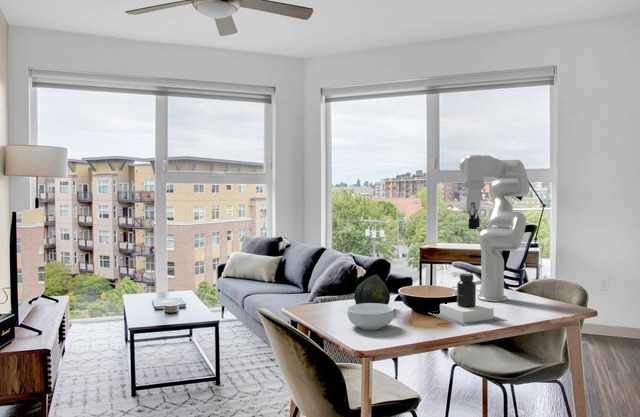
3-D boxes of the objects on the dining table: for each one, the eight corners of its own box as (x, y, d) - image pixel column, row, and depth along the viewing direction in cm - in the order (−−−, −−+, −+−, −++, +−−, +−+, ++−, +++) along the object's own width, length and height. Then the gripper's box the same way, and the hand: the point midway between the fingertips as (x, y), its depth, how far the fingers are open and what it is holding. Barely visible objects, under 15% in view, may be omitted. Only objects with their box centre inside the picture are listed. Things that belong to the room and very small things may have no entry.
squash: (349, 301, 201) (374, 272, 202) (346, 294, 216) (369, 267, 217) (376, 324, 202) (401, 295, 202) (371, 316, 217) (394, 289, 217)
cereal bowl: (365, 318, 195) (365, 300, 195) (403, 326, 184) (403, 306, 184) (337, 328, 182) (337, 308, 182) (377, 336, 171) (376, 316, 171)
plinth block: (439, 314, 198) (439, 304, 198) (469, 310, 204) (469, 300, 204) (463, 322, 185) (463, 311, 185) (493, 318, 191) (493, 308, 191)
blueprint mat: (427, 314, 201) (427, 312, 201) (468, 309, 209) (468, 307, 209) (463, 328, 181) (463, 326, 181) (507, 321, 188) (507, 320, 188)
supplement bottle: (455, 306, 193) (455, 275, 193) (459, 303, 199) (459, 272, 199) (473, 308, 190) (473, 276, 190) (477, 304, 196) (477, 273, 196)
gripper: (467, 186, 216) (467, 226, 217) (462, 186, 200) (462, 229, 201) (485, 185, 213) (485, 226, 214) (482, 185, 197) (482, 229, 198)
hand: (474, 228), depth 207 cm, fingers open, 9 cm apart
